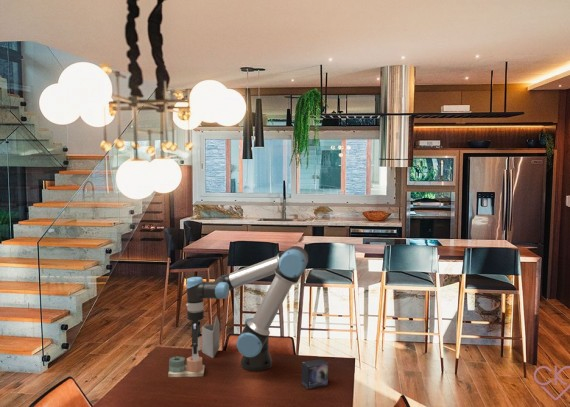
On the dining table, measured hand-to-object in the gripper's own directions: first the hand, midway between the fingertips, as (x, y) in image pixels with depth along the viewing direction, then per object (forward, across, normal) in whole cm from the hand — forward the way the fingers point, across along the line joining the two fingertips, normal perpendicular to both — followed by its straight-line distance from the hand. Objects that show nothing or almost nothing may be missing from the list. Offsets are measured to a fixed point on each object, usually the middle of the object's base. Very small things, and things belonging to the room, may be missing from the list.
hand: (196, 355), depth 245 cm
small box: (+10, +18, +53) cm, 57 cm away
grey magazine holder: (+8, -27, +4) cm, 29 cm away
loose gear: (+7, 0, -1) cm, 7 cm away
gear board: (+8, 0, -5) cm, 10 cm away
